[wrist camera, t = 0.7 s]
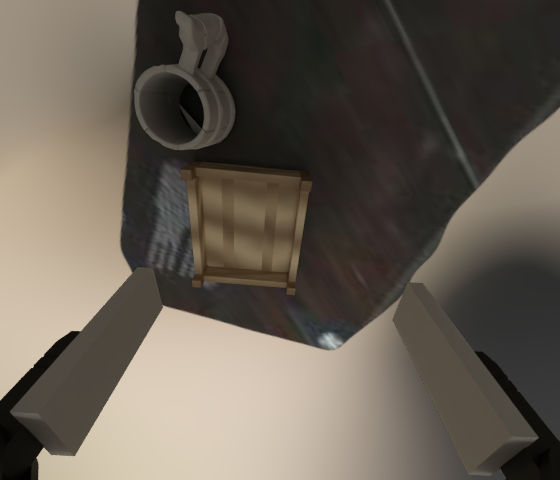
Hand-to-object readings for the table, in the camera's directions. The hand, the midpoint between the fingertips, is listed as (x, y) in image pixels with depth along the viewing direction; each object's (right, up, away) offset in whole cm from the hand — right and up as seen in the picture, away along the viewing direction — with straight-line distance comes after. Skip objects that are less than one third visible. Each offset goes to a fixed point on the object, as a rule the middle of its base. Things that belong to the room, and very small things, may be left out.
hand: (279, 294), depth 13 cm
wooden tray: (-4, +5, +23) cm, 24 cm away
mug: (-8, +20, +15) cm, 26 cm away
